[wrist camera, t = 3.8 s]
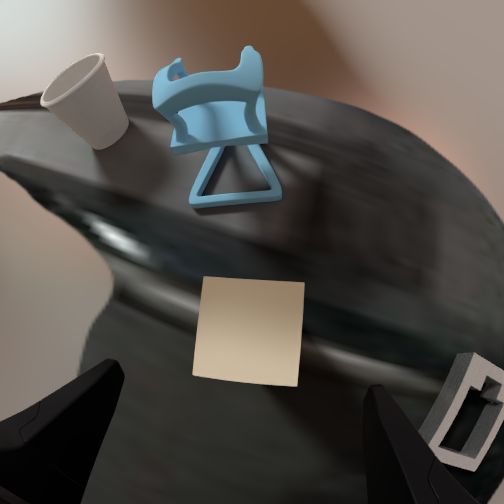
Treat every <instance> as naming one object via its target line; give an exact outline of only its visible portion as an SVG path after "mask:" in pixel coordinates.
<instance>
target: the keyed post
mask: <svg viewBox="0 0 504 504" xmlns="http://www.w3.org/2000/svg"><path fill="white" fill-rule="evenodd" d="M304 284H305V282H285V281H267V280H250V279H234V278H219V277H204V280H203V287H202V295H201V303H200V311H199V319H198V327H197V336H196V346H195V355H194V365H193V375H195V376H201V377H208V378H214V379H221V380H229V381H237V382H246V383H255V384H266V385H280V386H297V382H298V371H299V360H300V348H301V335H302V320H303V303H304Z"/></svg>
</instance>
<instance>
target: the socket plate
mask: <svg viewBox="0 0 504 504" xmlns="http://www.w3.org/2000/svg"><path fill="white" fill-rule="evenodd" d="M483 383H485V386H484V388H483V390H482V393H481V395H480V397H481V398H483V399H485V400H487V403H486V405H485V407H484V410H483V412H482V414H481V416H480V418H479V420H478V422H477V424H476V426H475V427H474V429H473V431H472V433H471V435H470V437H469V438H468V440H467V442H466V444H465V445H464V447H463V449H462V450H461V452H459V451H456V450H453V449H450V448H447V447H444V446H442V445H439V444H440V443H441V441H442V439H443V438H444V436H445V434H446V433H447V431H448V429H449V427H450V426H451V424H452V422H453V420H454V418H455V417H456V415H457V413H458V411H459V409H460V407H461V405H462V403H463V401H464V399H465V397H466V394H467V392H468V390H469V389H472V390H481V388H482V386H483ZM503 420H504V371H503V370H502V369H500V368H498V367H497V366H495V365H494V364H492V363H490V362H489V361H487V360H485V359H484V358H482V357H481V356H479V355H477V354H476V353H460V354H457V356H456V358H455V361H454V363H453V365H452V368H451V370H450V372H449V374H448V377H447V379H446V381H445V383H444V385H443V387H442V389H441V391H440V393H439V395H438V397H437V399H436V401H435V403H434V405H433V407H432V408H431V410H430V412H429V414H428V416H427V417H426V419H425V421H424V422H423V424H422V426H421V428H420V429H419V431H418V432H419V433H420V435H421V436H422V437H423V439H424V440H425V441H426V443H427V444H428V445H429V447H430V448H431V449H432V451H433V452H434V453H435V456H437V457H438V459H439V460H440V461H441V462H443V463H446V464H449V465H452V466H456V467H459V468H463V469H467V470H471V471H474V472H475V470H476V469H477V467H478V466H479V464H480V462H481V461H482V459H483V457H484V456H485V454H486V452H487V451H488V449H489V447H490V445H491V443H492V442H493V440H494V438H495V436H496V434H497V432H498V430H499V428H500V426H501V424H502V422H503Z"/></svg>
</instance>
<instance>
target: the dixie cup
mask: <svg viewBox="0 0 504 504" xmlns="http://www.w3.org/2000/svg"><path fill="white" fill-rule="evenodd" d="M104 60H105V56H104V55H103V54H101V53H95V54H91V55H88V56H86V57H83V58H81V59H79V60H78V61H76V62H75V63H73V64H72V65H70V66H69V67H67V68H66V69H65V70H64V71H62V72H61V73H60V74H59V75H58V76H57V77H56V78H55V79H54V80H53V81H52V82H51V83H50V84H49V85H48V87H47V88H46V90H45V91H44V93H43V95H42V97H41V105H42V106H43V107H47V108H48V109H49V110H50V111H51V112H52V113H53V114H54V115H56V116H57V117H58V118H59V119H60V120H61V121H62V122H64V123H65V124H66V125H67V126H68V127H69V128H71V129H72V130H73V131H74V132H75V133H76V134H77V135H79V136H80V137H81V138H82V139H83V140H84V141H86V142H87V143H88V144H89V145H90V146H91V147H93V148H94V149H97V150H100V149H104V148H107V147H109V146H111V145H112V144H114V143H115V142H117V141H118V140H119V139H120V138H121V137H122V136H123V134H124V133H125V132H126V130H127V128H128V125H129V120H128V118H127V116H126V113H125V111H124V109H123V106H122V104H121V101H120V99H119V97H118V94H117V92H116V89H115V87H114V85H113V82H112V80H111V77H110V75H109V72H108V70H107V67H106V65H105V62H104Z"/></svg>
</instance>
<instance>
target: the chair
mask: <svg viewBox="0 0 504 504" xmlns="http://www.w3.org/2000/svg"><path fill="white" fill-rule="evenodd" d="M176 74H177V75H178V76H179V78H180V79H179V80H176V81H172V80H173V77H174V76H175V75H176ZM152 96H153V107H154V108H155V110H157V111H158V112H159V113H160V114H162V115H163V116H164V117H165V118H166V119H167V120H169V121H170V122H171V123H172V124H173V126H174V127H175V128H174V132H173V136H172V142H171V147H170V148H171V150H172V151H173V153H174V155H179V154H185V153H191V152H196V151H200V150H204V149H208V148H211V149H210V152H209V154H208V156H207V158H206V160H205V162H204V164H203V166H202V168H201V170H200V172H199V174H198V176H197V178H196V181H195V183H194V185H193V188H192V190H191V193H190V196H189V203H190V205H191V206H192V207H193V208H196V209H197V208H206V207H216V206H226V205H236V204H247V203H259V202H271V201H279V200H281V199H282V190H281V186H280V183H279V181H278V179H277V177H276V175H275V173H274V171H273V169H272V167H271V165H270V163H269V162H268V160H267V158H266V156H265V154H264V153H263V151H262V149H261V147H260V145H259V144H265V143H268V135H267V123H266V113H265V101H264V91H263V65H262V60H261V56H260V54H259V53H258V52H257V51H255V50H254V49H253V47H252V46H246V47H245V48H244V50H243V51H242V53H241V62H240V64H239V66H238V67H237V68H236V69H234V70H230V71H216V72H214V71H213V72H201V73H196V74H193V75H190V76H189V75H188V74H187V72H186V71H185V69H184V66H183V62H182V59H181V58H177V59H176V60H175V61H174V62H173V63H172V64H171V65H169V66H167V67H165V68H163V69H162V70H160V71H159V72H158V73H157V75H156V76H155V79H154V83H153V92H152ZM176 112H178V114H177V113H176ZM234 145H247V146H248V148H249V150H250V152H251V154H252V156H253V158H254V159H255V161H256V163H257V165H258V166H259V168H260V170H261V172H262V173H263V175H264V177H265V178H266V180H267V182H268V184H269V186H270V187H271V190H268V191H254V192H242V193H231V194H220V195H210V196H201V195H202V193H203V191H204V189H205V187H206V185H207V183H208V181H209V179H210V177H211V175H212V173H213V171H214V169H215V167H216V165H217V163H218V161H219V159H220V157H221V155H222V153H223V151H224V148H225V146H234Z"/></svg>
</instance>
